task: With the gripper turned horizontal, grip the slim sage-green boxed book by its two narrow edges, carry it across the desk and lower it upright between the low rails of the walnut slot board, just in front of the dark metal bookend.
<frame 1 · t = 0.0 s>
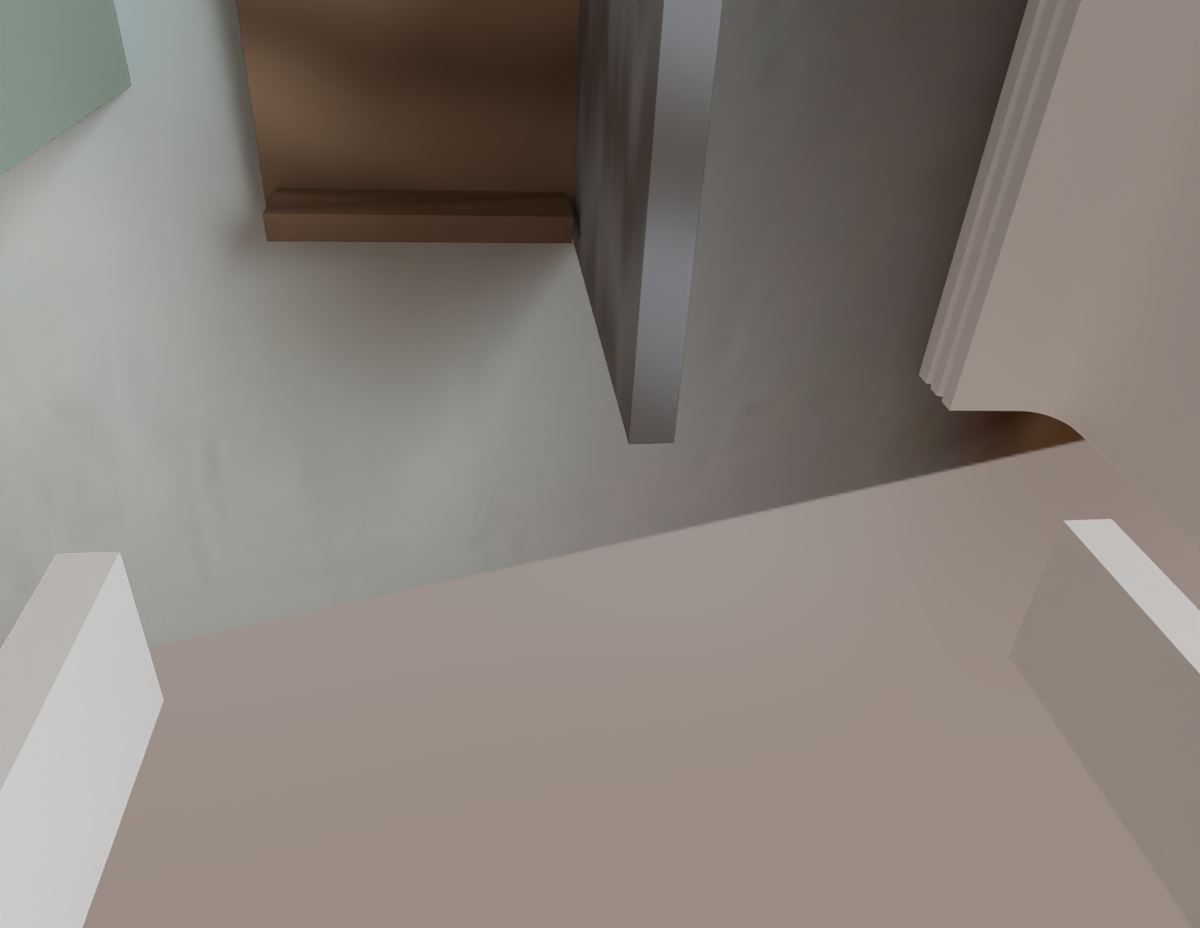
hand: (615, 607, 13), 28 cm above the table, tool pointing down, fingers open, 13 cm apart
slot board: (432, 36, 34), on the table
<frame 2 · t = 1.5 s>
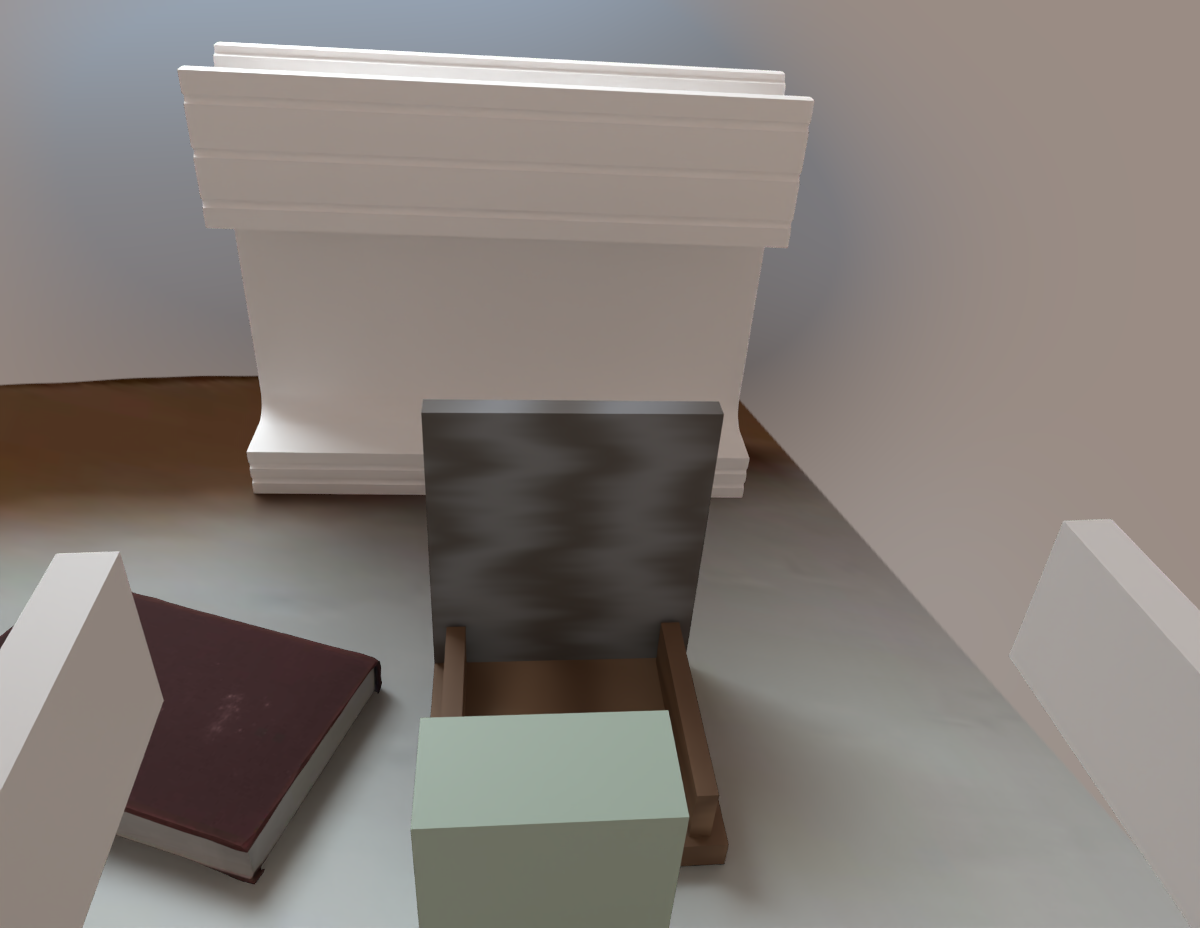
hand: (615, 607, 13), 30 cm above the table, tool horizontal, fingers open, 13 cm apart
slot board: (566, 755, 48), on the table
book: (162, 733, 49), on the table
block: (504, 466, 70), on the table
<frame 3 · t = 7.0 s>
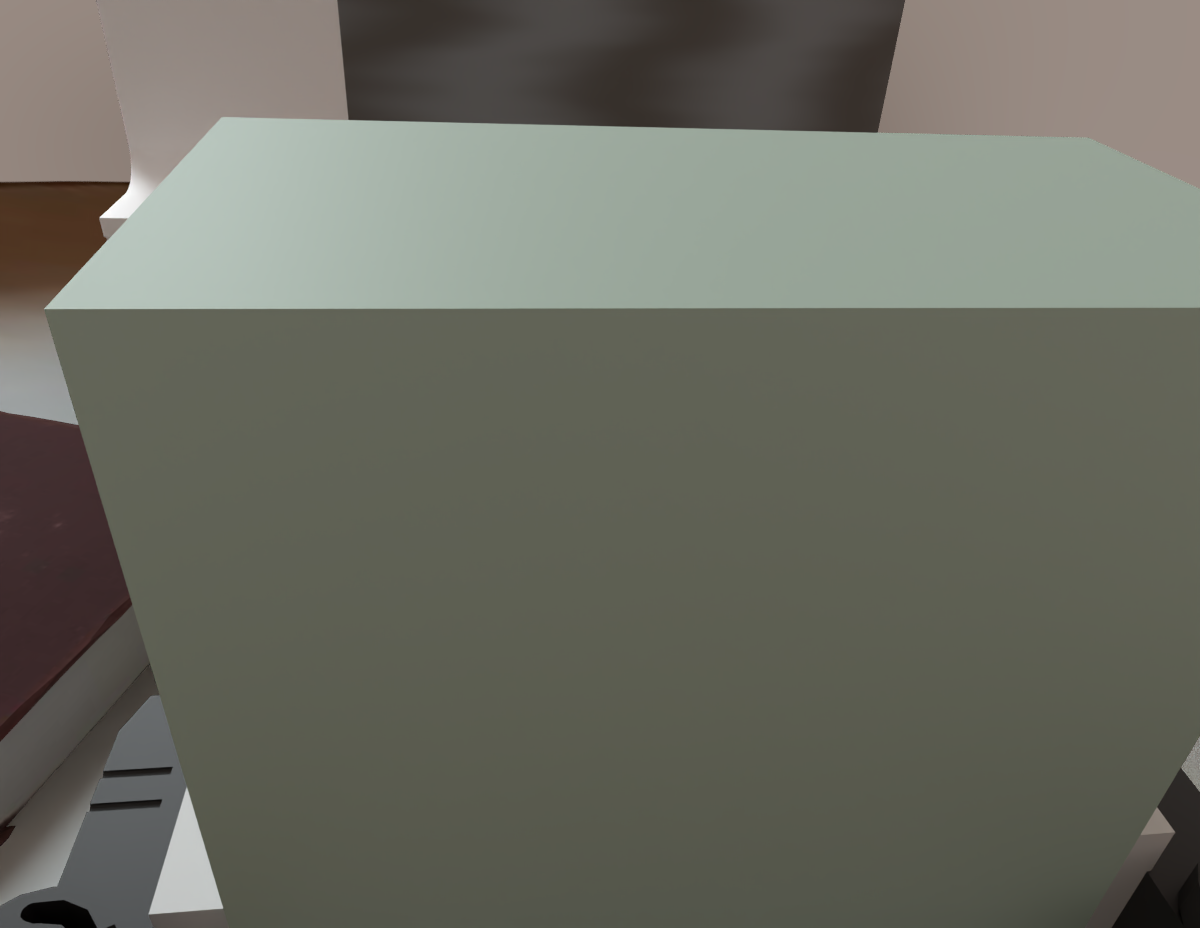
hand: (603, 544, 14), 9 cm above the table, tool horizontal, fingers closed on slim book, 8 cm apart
slot board: (621, 612, 26), on the table
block: (493, 268, 49), on the table
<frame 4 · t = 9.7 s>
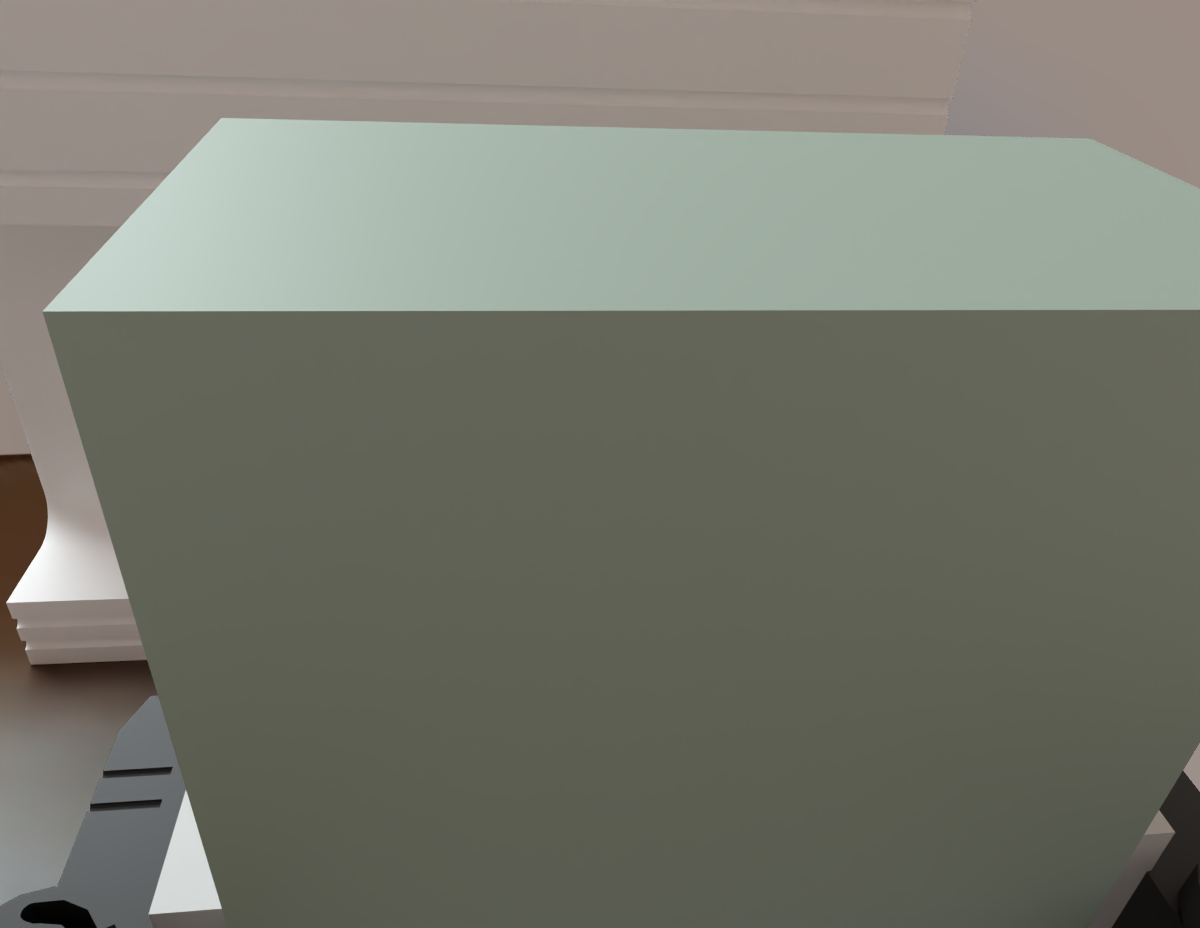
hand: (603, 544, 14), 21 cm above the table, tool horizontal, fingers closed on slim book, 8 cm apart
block: (448, 591, 45), on the table
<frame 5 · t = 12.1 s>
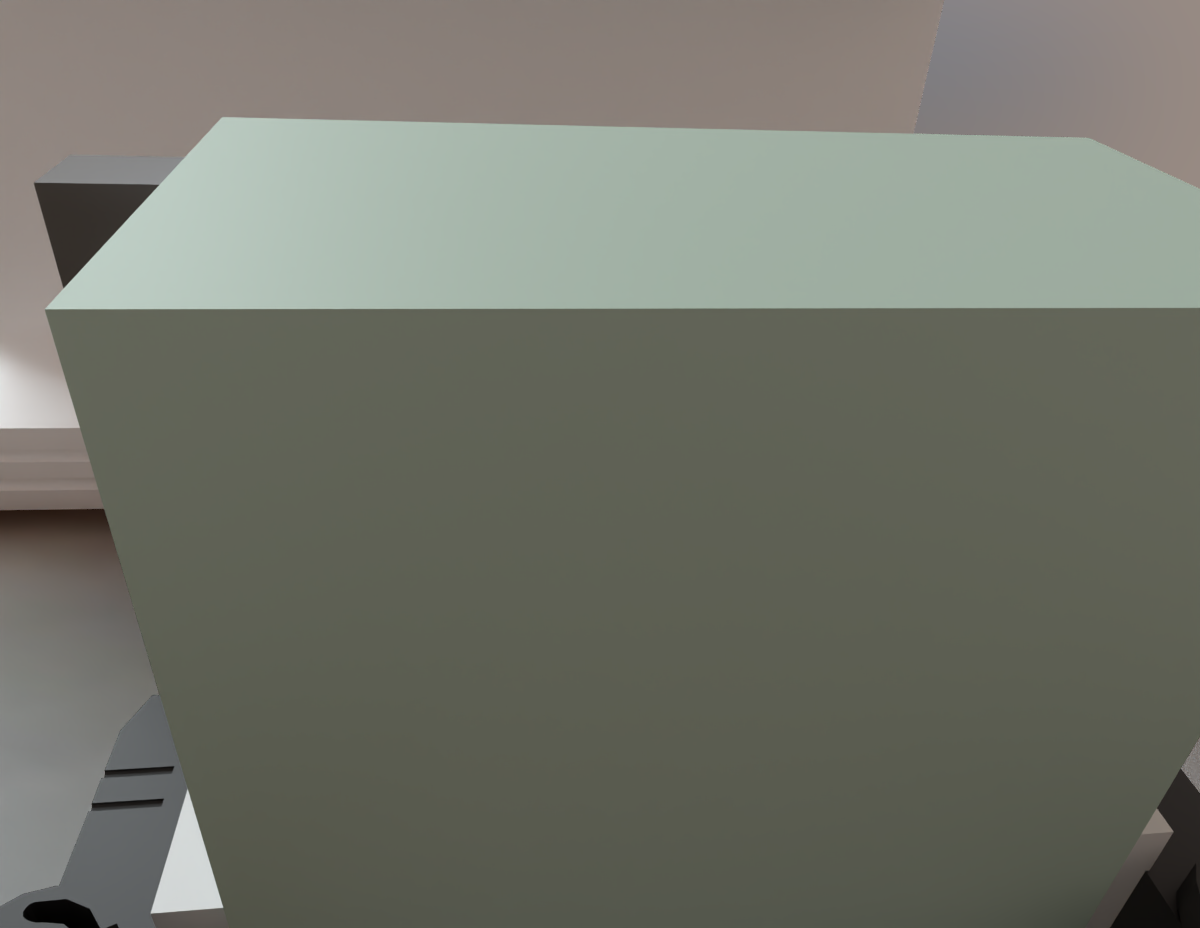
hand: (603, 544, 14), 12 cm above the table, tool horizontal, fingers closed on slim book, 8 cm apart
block: (453, 452, 39), on the table
when the fingers open (12 cm above the table, at t = 12.4 s): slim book drops 1 cm, resting on slot board.
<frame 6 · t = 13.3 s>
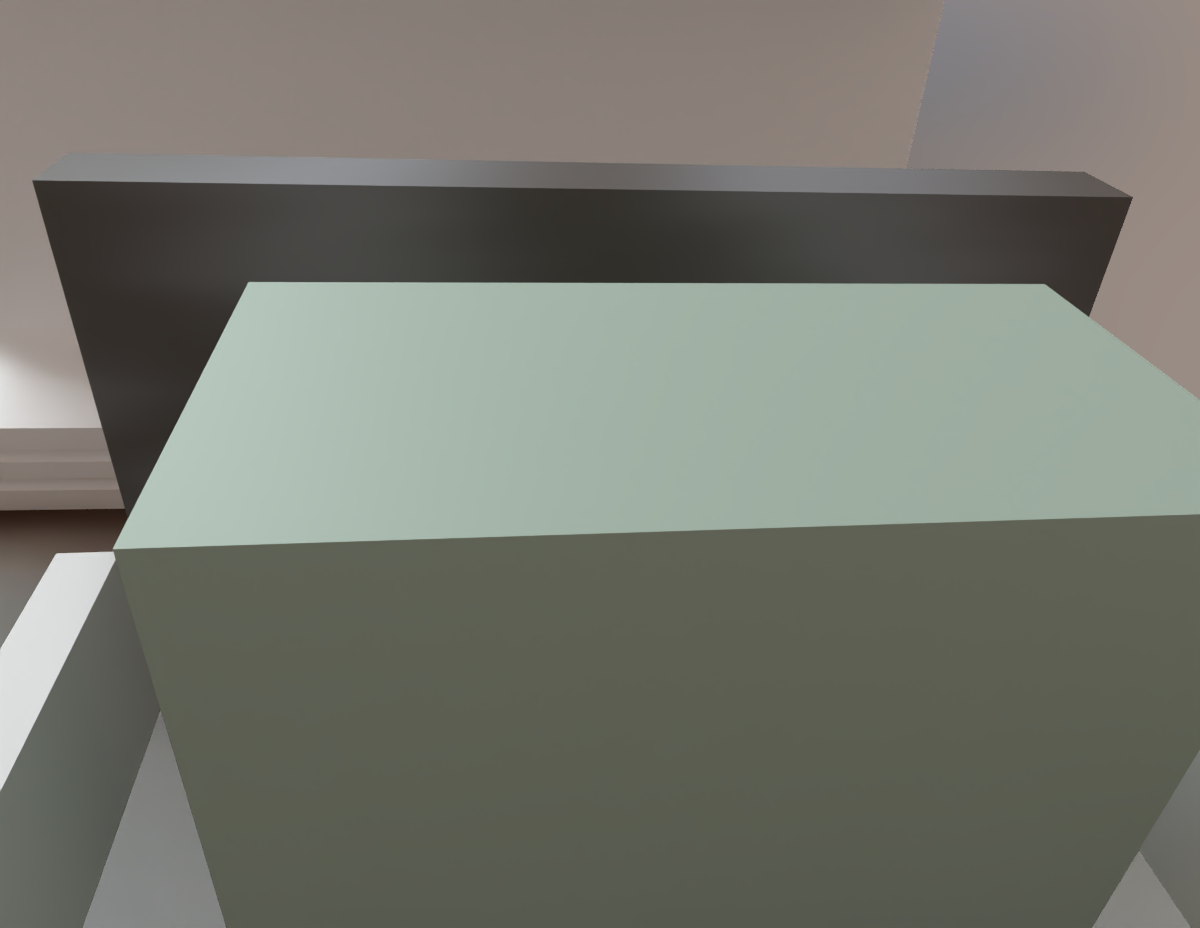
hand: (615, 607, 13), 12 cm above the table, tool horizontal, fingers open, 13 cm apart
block: (454, 452, 39), on the table
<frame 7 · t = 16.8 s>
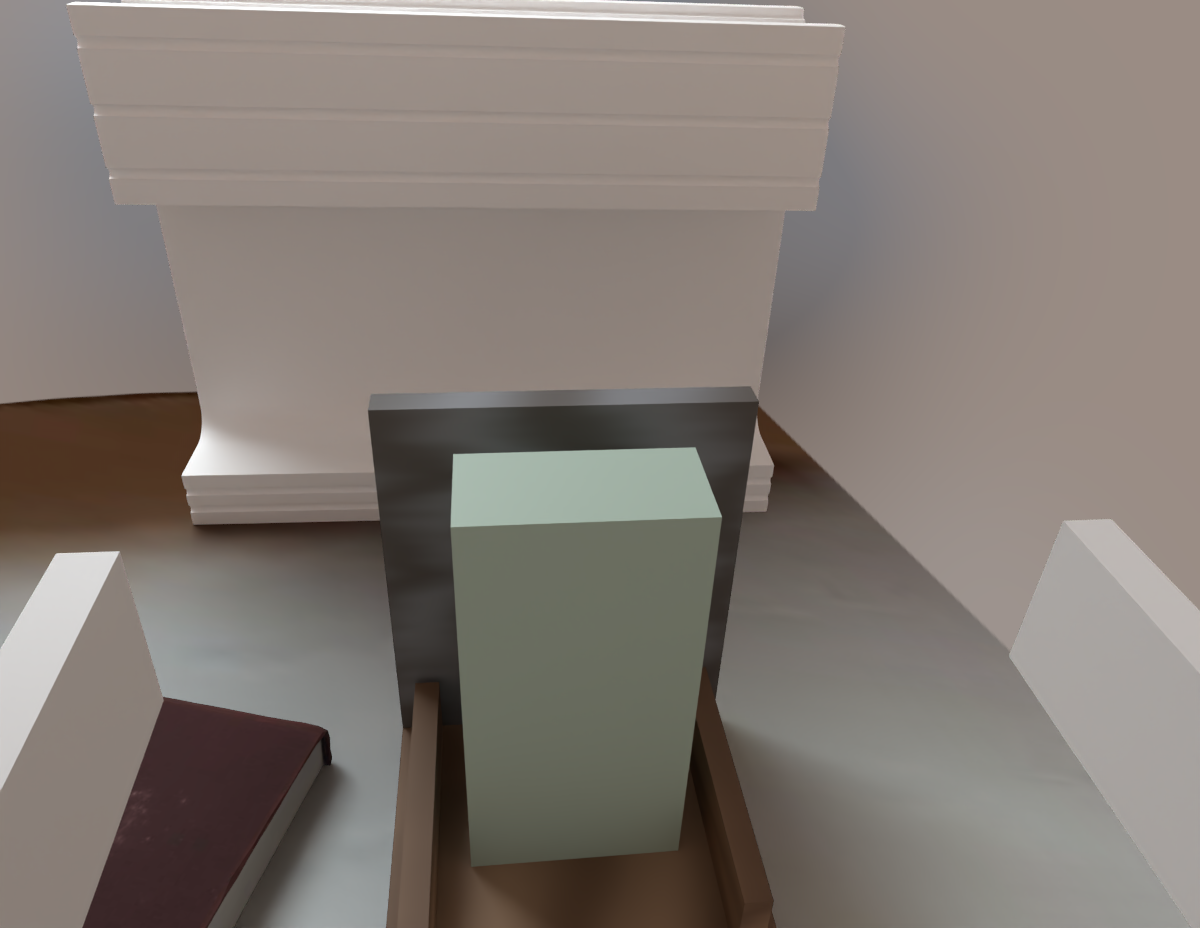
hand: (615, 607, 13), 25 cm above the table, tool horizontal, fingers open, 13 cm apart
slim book: (571, 814, 37), point 1 cm above the table, touching slot board
slot board: (571, 842, 38), on the table
book: (50, 847, 38), on the table
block: (489, 484, 60), on the table
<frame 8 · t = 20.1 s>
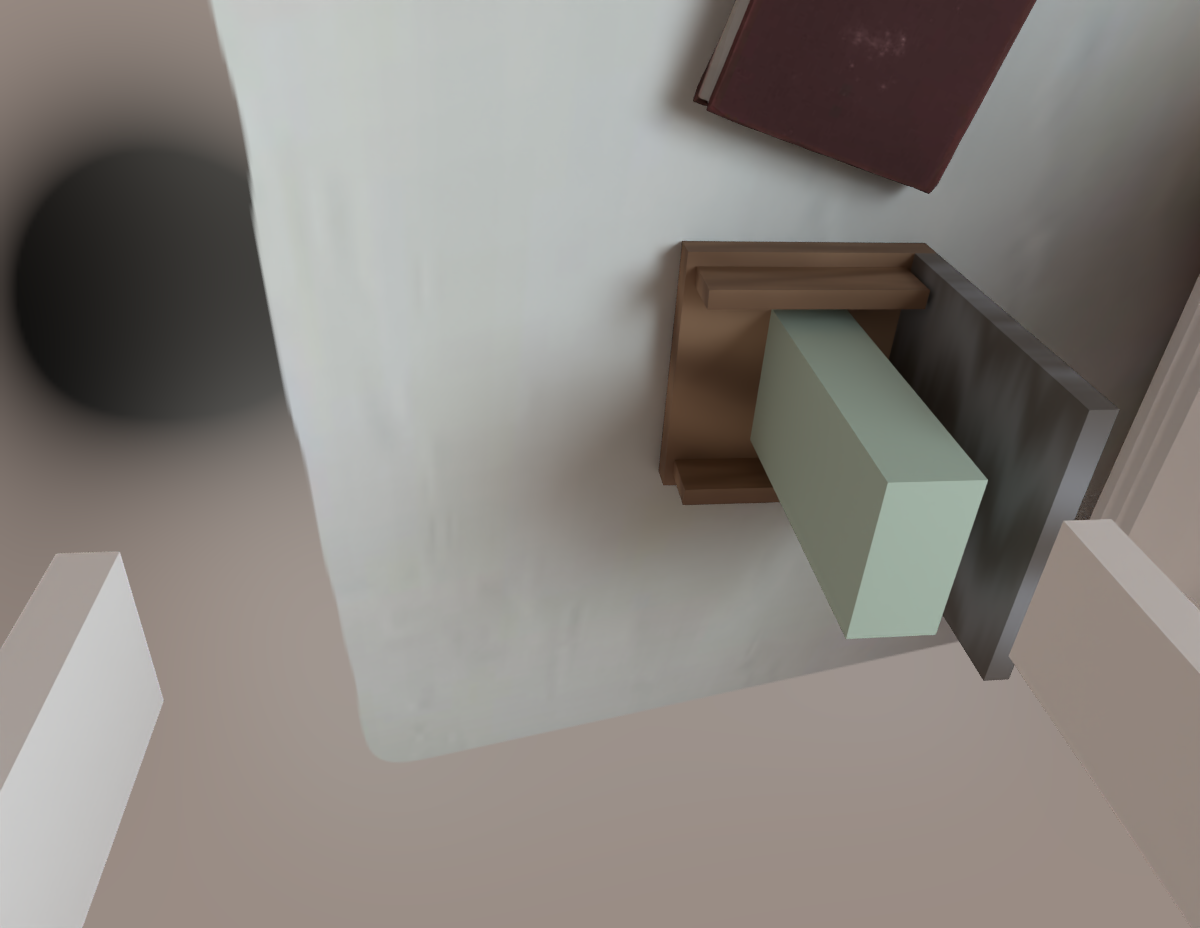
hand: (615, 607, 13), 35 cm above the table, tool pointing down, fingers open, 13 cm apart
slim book: (796, 376, 50), point 1 cm above the table, touching slot board
slot board: (784, 363, 52), on the table
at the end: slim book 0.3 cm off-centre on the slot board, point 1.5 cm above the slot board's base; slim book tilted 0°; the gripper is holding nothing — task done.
